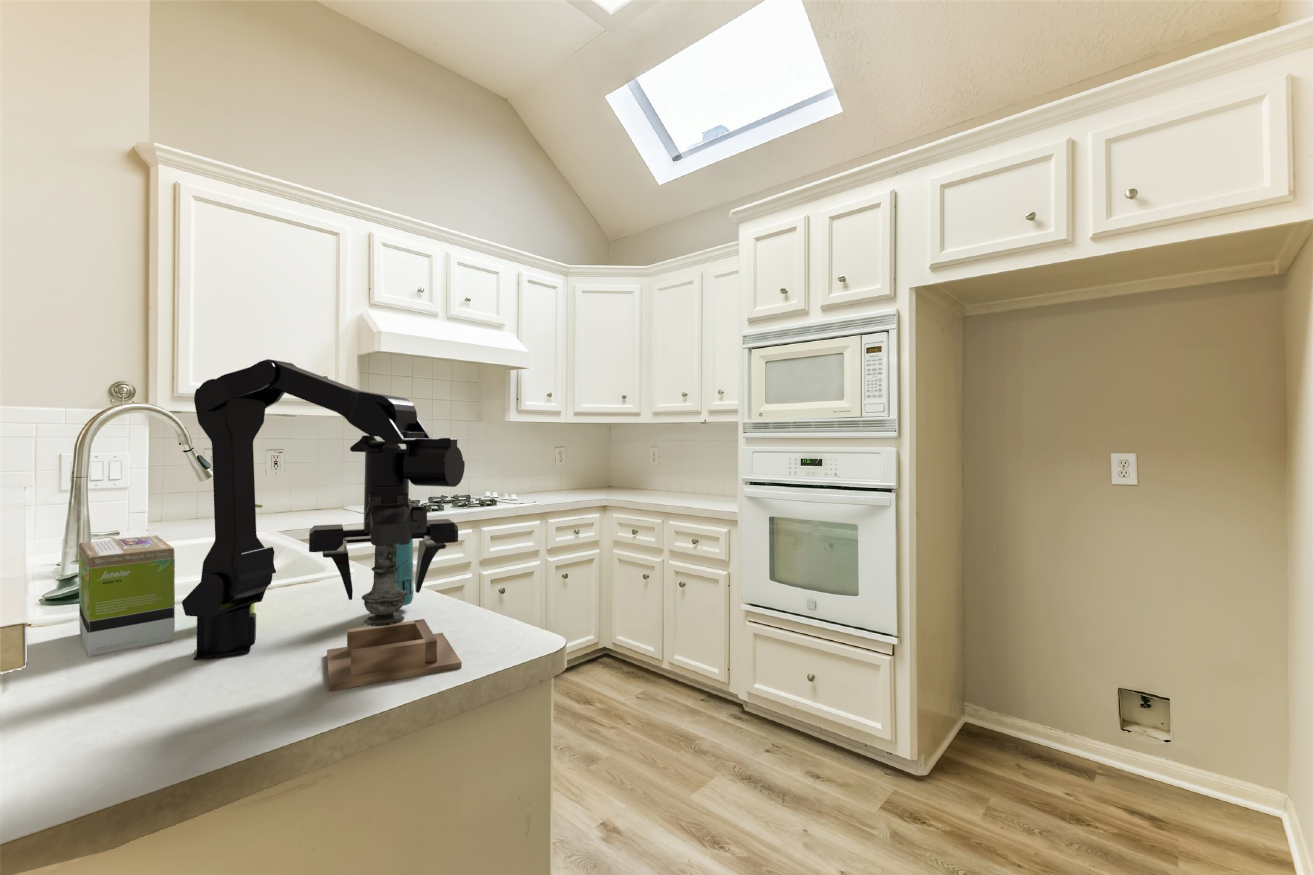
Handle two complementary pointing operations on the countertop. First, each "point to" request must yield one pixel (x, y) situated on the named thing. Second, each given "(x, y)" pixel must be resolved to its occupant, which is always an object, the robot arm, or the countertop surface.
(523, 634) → the countertop surface
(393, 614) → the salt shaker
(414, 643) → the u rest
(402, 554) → the beverage bottle
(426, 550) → the robot arm
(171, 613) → the tea box
